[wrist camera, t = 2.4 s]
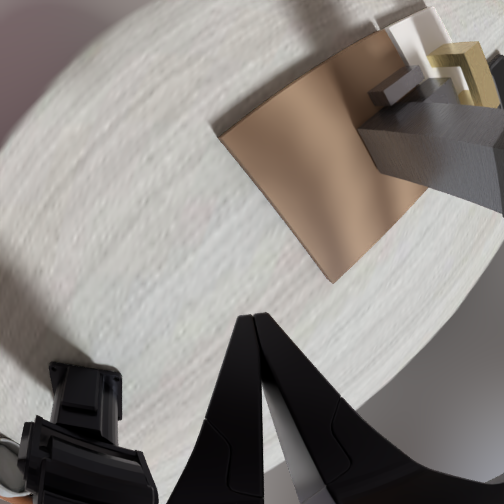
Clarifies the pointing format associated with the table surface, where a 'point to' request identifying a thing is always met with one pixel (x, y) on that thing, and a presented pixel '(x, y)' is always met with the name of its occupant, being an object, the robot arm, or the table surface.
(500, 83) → the phone
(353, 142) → the door leaf
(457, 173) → the dark square pillar
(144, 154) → the table surface
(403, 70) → the guide rails
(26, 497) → the orange brown tapered rod
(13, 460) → the ceramic mug
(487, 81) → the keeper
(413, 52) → the jamb plate
